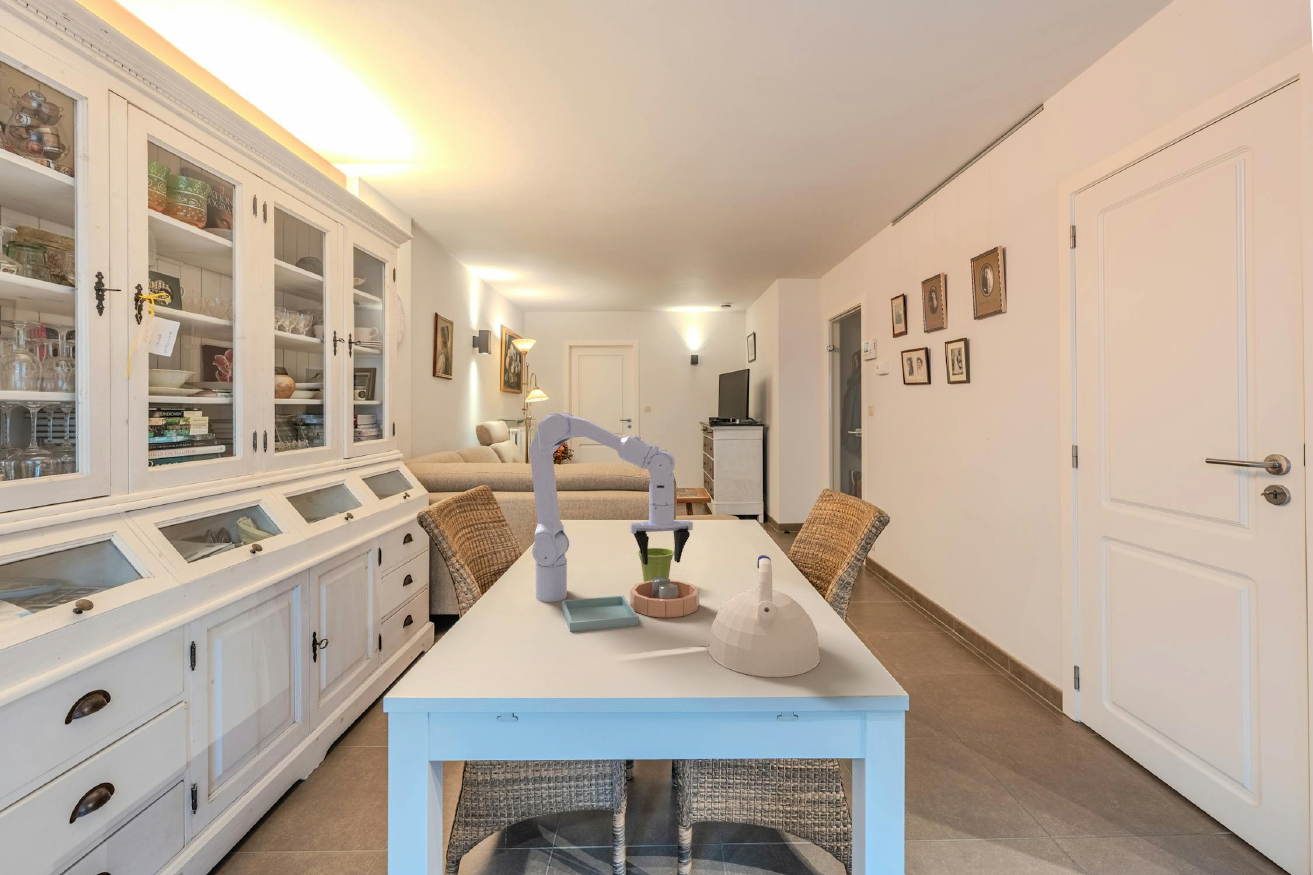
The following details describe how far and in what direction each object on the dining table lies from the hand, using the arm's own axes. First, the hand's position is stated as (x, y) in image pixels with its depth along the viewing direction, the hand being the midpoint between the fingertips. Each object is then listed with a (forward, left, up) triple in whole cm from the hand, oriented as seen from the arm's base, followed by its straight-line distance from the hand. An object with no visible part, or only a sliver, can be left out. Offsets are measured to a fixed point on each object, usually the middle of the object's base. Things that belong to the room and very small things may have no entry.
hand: (661, 562), depth 131 cm
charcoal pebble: (0, 0, -9) cm, 9 cm away
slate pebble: (+6, 0, -9) cm, 11 cm away
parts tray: (+6, -15, -10) cm, 19 cm away
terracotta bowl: (+3, 0, -10) cm, 10 cm away
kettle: (+30, +11, -10) cm, 34 cm away
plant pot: (-15, +3, -10) cm, 18 cm away
